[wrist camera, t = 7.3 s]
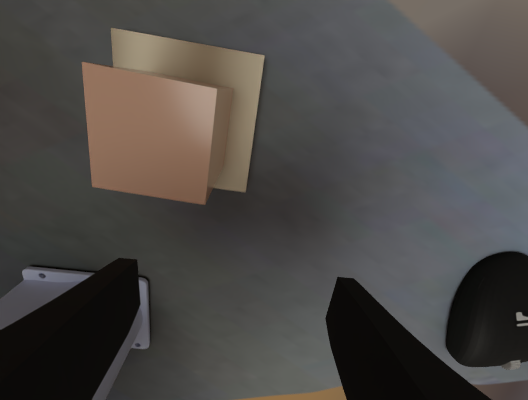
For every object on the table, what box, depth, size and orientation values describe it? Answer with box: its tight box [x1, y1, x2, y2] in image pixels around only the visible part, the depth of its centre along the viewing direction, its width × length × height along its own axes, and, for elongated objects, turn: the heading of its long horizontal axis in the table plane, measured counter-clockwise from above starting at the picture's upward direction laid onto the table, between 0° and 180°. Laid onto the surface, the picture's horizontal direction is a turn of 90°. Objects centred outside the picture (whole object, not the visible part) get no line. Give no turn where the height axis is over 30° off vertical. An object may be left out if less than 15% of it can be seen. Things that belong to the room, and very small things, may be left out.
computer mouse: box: [446, 252, 528, 370], centre depth 22 cm, size 8×12×4 cm, turn 9°
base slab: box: [111, 28, 265, 192], centre depth 16 cm, size 8×8×2 cm
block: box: [82, 62, 234, 205], centre depth 12 cm, size 4×4×6 cm
